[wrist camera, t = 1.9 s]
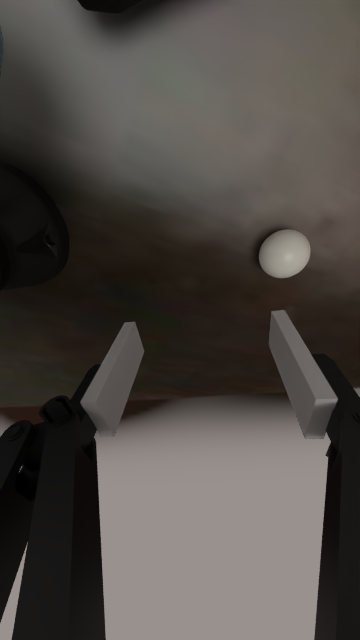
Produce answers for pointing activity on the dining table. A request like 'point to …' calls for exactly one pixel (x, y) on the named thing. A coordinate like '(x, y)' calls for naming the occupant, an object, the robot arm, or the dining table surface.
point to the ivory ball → (284, 253)
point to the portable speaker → (107, 5)
